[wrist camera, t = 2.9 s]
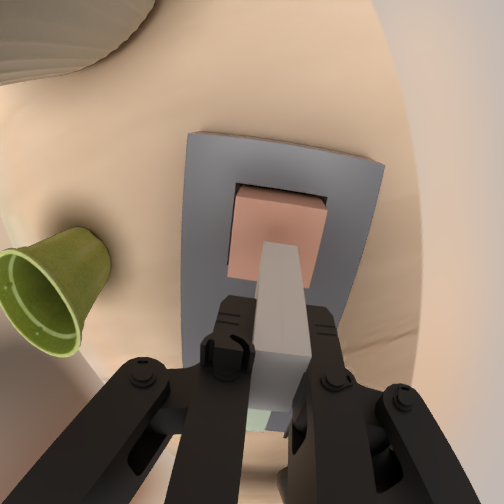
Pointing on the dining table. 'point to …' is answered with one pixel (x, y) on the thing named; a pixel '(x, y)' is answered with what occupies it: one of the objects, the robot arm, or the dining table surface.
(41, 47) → the canister
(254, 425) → the sage key
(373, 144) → the dining table surface
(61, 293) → the plant pot
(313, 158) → the keypad
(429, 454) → the robot arm
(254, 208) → the terracotta key
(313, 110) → the dining table surface
